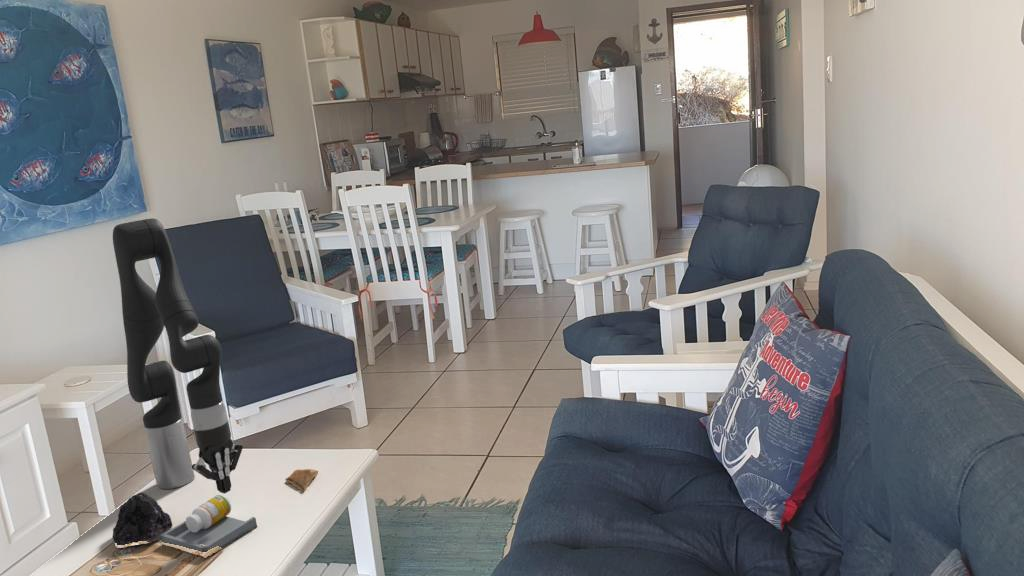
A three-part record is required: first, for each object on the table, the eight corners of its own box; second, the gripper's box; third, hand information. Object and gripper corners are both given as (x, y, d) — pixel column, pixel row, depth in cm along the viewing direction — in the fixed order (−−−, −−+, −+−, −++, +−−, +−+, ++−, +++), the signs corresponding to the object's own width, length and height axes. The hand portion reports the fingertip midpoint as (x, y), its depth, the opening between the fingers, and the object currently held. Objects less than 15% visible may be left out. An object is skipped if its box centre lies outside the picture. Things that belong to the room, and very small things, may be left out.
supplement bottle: (222, 517, 189) (191, 538, 181) (211, 497, 189) (179, 518, 181) (235, 510, 187) (204, 531, 178) (224, 490, 187) (192, 511, 178)
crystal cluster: (147, 556, 176) (143, 514, 174) (96, 549, 179) (92, 508, 178) (185, 528, 189) (182, 489, 187) (137, 522, 192) (134, 484, 191)
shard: (304, 494, 197) (303, 487, 196) (276, 496, 198) (274, 489, 197) (320, 474, 207) (319, 468, 207) (292, 476, 208) (291, 469, 208)
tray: (162, 544, 179) (160, 535, 178) (213, 515, 190) (211, 506, 190) (206, 558, 170) (204, 548, 170) (257, 526, 182) (255, 517, 181)
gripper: (223, 409, 187) (237, 476, 191) (175, 431, 176) (190, 502, 180) (244, 413, 183) (258, 481, 187) (196, 435, 172) (211, 507, 176)
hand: (225, 491), depth 183 cm, fingers closed
